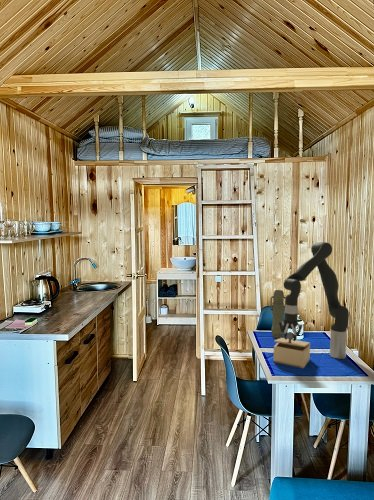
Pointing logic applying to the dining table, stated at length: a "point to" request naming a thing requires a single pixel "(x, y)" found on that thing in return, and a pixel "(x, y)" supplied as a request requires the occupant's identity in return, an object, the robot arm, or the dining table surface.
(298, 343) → the carton flap
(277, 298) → the thermos
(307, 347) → the carton
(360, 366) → the dining table surface
